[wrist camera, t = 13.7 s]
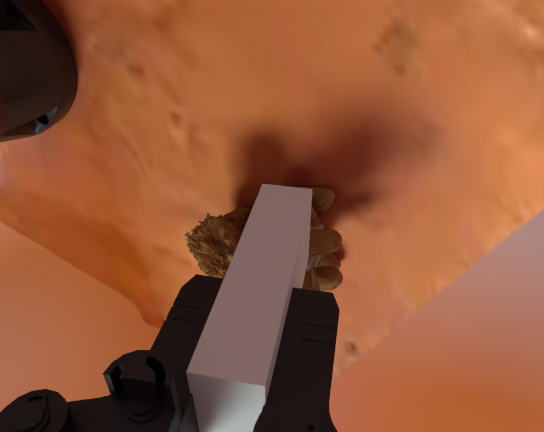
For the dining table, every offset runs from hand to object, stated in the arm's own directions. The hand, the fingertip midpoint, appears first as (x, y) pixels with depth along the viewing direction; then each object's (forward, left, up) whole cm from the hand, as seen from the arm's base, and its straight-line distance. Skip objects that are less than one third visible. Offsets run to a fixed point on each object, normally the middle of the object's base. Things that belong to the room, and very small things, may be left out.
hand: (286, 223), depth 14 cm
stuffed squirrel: (-5, -20, -26) cm, 33 cm away
